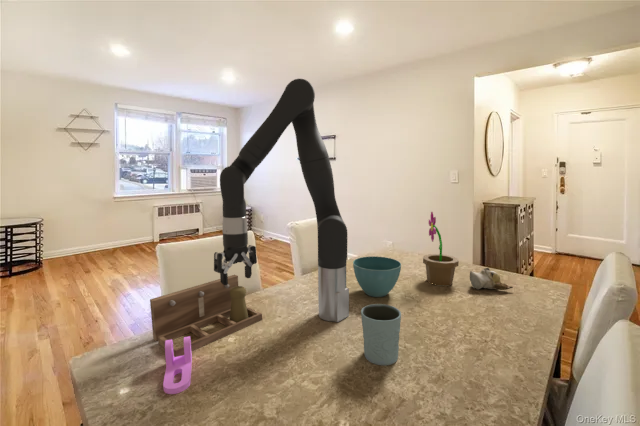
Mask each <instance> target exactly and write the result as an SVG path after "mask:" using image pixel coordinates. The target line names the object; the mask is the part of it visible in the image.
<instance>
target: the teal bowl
mask: <svg viewBox="0 0 640 426" xmlns="http://www.w3.org/2000/svg"><path fill="white" fill-rule="evenodd" d="M352 264H353V265H352V268H353V273H354V276H355V279H356V281H357V283H358V285H359V287H360V288H361V289H362V291H363V292H364V293H365V294H366V295H368V296H369V297H372V298H382V297H386V296H387V295H388V294H389V293H391V292H392V290H393V289H394V287H395V286H396V284H397V282H398V280H399V278H400V275H401V271H402V269H401V268H402V263H401V262H400V261H399V260H397V259H395V258H391V257H386V256H378V255H377V256H375V255H374V256H362V257H358V258H356V259H354V260H353V262H352Z"/></svg>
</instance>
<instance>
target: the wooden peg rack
mask: <svg viewBox="0 0 640 426" xmlns="http://www.w3.org/2000/svg"><path fill="white" fill-rule="evenodd" d="M236 286H239V275H237V274H232V275H229V276H228V285H223V284H222V283H221V279H220V278H219V279H215V280H211V281H208V282H205V283H201V284H198V285H194V286H191V287H187V288H184V289H181V290H177V291H174V292H171V293H167V294H164V295H161V296H157V297H153V298H151V299H149V303H150V304H149V305H150V306H149V307H150V314H151V325H152V326H151V327H152V339H153V340H154V341H155V342H158V344H159V345H160V346H161V347H162V348H164V349H165V341H166V340H171V339H172V341H173V340H175V339H177V338H180V337H182V336H185V335H187V334H191V333H192V334H193V335H195V336H196V337H197V338H198V339H196V340H193V341H191V352H194V351H196V350H197V349H198V350H199V349H200V348H202V347H204V346H207V345H208V344H209V345H210V344H211V343H213V342H215V341H218V340H219V339H222V338H224V337H227V336H228V335H231V334H234V333H235V332H237V331H240V330H242V329H245V328H247V327H250V326H251V325H254V324H255V323H258V322H261V321H262V320H263V313H261V312H260V311H256V310H254V309H252V308H250V307H248V306H246V307H247V313H248V318H247V319H245V320H242V321H240V322H237V323H236V322H234V321H232V320H230V310H231V299H232V298H231V297H230V290H231V288H233V287H236ZM215 323H220V324H221V325H223V326H225V327H224V328H222V329H219V330H217V331H214V332H212V333H207V332H206V331H205V330H203V329H202V328H205V327H207V326H210V325H212V324H215ZM173 352H174V357H178V356H183V355H184V344H183V345H181V346H179V347H177V346H176V344H174V343H173Z"/></svg>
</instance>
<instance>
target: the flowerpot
mask: <svg viewBox="0 0 640 426" xmlns="http://www.w3.org/2000/svg"><path fill="white" fill-rule="evenodd" d="M436 219H437V218H436V216H434V212H433V211H430V219H428V226H429V227H430V228H429V230H428V237H430V239H431V242H434V239H435V235H437V236H438V241H439V246H438V250H439V253H432V254H431V253H430V254H426V255H423V257H422V264H424V265H425V271H426V281H428V282H427V283H429V282H430V283H433V284H436V285H435V286H437V285H449V286H451V285H450V284H452V285H453V283H454V281H453V280H454V277H455V272H456V268H457V267H458V266H459V264H460V263H459V261H460V260H459V258H458V257H455V256H453V255H447V254H443V242H442V235H441V233H440V231H439V229H438V227H437V226H436V222H437V220H436ZM430 283H429V284H430ZM433 284H432V285H433Z"/></svg>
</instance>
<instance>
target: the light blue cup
mask: <svg viewBox="0 0 640 426" xmlns="http://www.w3.org/2000/svg"><path fill="white" fill-rule="evenodd" d="M360 315H361V316H360V317H361V318H360V319H361V327H362V338H363V353H364V358H365V359H366V360H367V361H368V362H370V363H371V364H374V365H378V366H390V365H393V364H395V363H396V362H397V361H398V359H399V351H400V346H399V343H400V332H401V319H402V312H401V310H400V309H398V308H397V307H395V306H393V305H389V304H385V303H383V304H382V303H375V304H374V303H373V304H368V305H366V306H364V307H362V308H361V310H360Z"/></svg>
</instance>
